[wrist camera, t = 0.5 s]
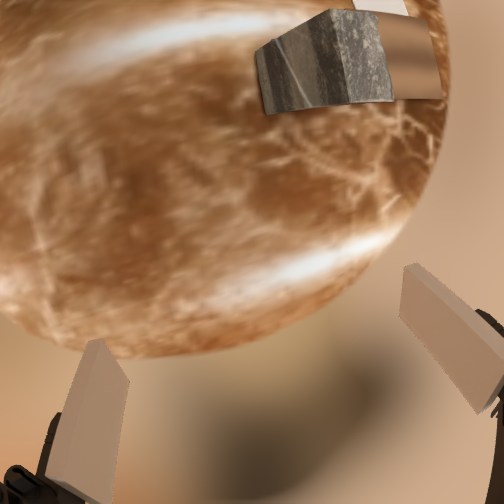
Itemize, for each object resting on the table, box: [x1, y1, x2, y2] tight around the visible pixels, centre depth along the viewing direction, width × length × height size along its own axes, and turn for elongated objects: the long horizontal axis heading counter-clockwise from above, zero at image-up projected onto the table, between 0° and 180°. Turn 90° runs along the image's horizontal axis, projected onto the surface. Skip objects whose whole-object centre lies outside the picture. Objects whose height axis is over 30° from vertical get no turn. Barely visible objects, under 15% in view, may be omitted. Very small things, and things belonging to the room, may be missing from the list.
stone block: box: [255, 9, 394, 115], centre depth 22 cm, size 9×14×5 cm
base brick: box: [344, 9, 443, 99], centre depth 27 cm, size 12×13×3 cm
